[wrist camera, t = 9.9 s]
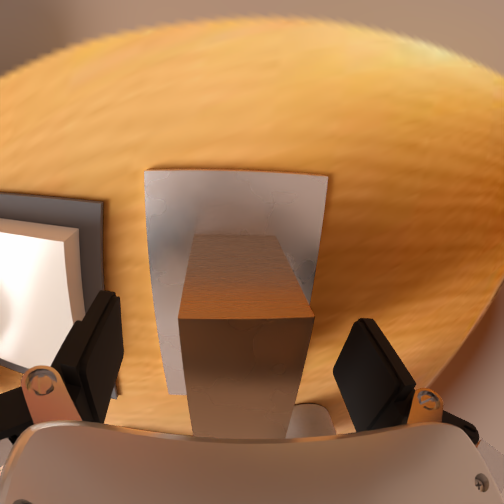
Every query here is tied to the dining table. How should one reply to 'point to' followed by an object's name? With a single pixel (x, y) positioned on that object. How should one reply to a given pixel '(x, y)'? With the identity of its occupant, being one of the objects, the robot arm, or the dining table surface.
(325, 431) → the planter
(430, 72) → the dining table surface
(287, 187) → the float
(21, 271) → the tile
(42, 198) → the mat
